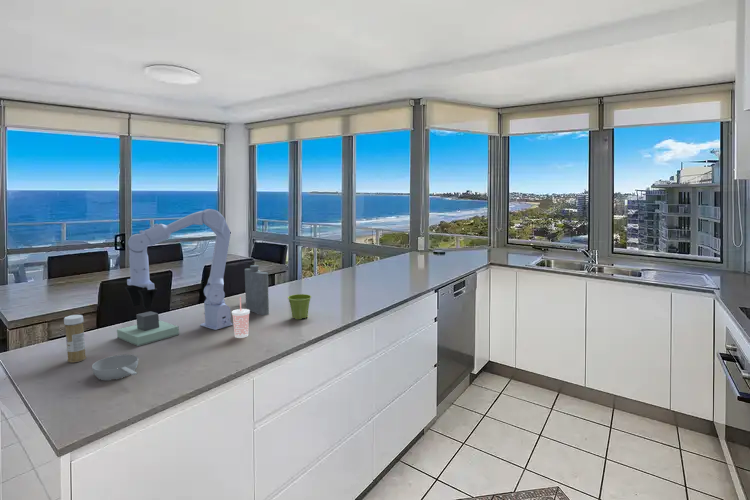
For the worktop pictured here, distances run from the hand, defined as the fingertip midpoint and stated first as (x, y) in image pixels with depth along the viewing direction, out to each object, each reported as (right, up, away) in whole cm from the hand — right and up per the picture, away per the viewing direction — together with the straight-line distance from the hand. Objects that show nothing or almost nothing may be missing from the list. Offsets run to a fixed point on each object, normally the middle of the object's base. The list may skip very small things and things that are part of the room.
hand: (141, 307), depth 142 cm
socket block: (+2, -10, 0) cm, 10 cm away
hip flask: (+30, -7, +33) cm, 45 cm away
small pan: (+13, -15, -32) cm, 38 cm away
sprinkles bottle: (-7, -13, -21) cm, 26 cm away
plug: (+2, -9, 0) cm, 9 cm away
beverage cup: (+34, -11, +1) cm, 36 cm away
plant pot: (+51, -8, +24) cm, 57 cm away
